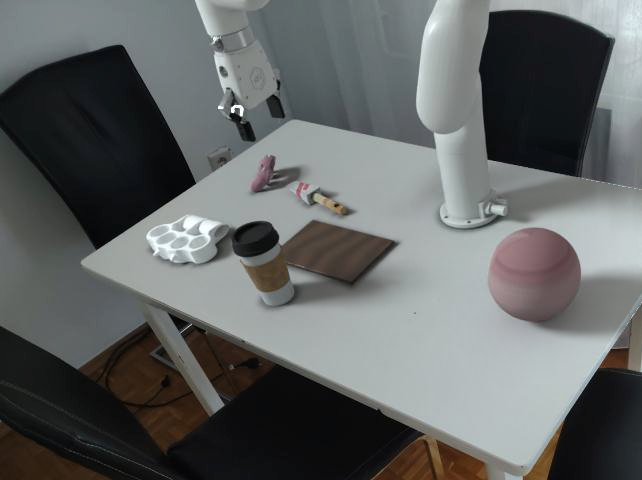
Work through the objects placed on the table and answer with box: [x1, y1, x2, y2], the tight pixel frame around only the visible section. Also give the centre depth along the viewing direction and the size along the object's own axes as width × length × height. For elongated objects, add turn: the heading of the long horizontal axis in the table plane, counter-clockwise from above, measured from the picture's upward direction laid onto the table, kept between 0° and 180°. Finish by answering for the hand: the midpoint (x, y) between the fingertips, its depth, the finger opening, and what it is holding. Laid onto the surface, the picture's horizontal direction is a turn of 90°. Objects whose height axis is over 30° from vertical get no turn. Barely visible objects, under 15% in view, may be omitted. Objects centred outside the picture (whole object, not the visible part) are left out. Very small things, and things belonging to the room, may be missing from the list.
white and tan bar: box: [285, 180, 347, 216], centre depth 144 cm, size 4×3×20 cm
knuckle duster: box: [146, 214, 230, 265], centre depth 138 cm, size 3×18×15 cm
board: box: [281, 219, 395, 286], centre depth 129 cm, size 22×14×1 cm, turn 57°
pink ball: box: [486, 226, 582, 322], centre depth 103 cm, size 15×15×15 cm
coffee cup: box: [230, 220, 295, 307], centre depth 116 cm, size 8×8×15 cm
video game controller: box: [249, 154, 277, 193], centre depth 153 cm, size 10×5×7 cm, turn 179°
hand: (264, 128), depth 126 cm, fingers open, 9 cm apart
